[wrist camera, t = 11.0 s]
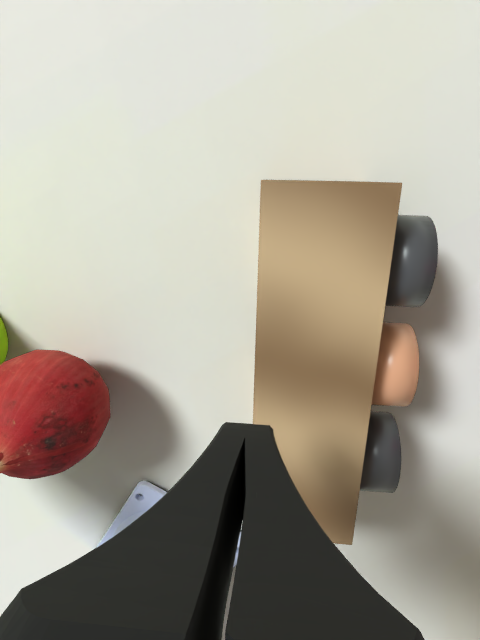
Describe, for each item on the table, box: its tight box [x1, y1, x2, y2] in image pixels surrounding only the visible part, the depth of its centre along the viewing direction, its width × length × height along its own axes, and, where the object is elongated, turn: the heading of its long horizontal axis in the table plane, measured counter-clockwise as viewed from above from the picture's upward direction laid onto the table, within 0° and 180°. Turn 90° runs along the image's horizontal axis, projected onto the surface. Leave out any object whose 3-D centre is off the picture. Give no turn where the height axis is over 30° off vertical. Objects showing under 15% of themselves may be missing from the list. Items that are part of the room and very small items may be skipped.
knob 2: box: [385, 215, 438, 307], centre depth 17 cm, size 4×6×4 cm, turn 89°
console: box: [253, 180, 402, 545], centre depth 18 cm, size 15×4×6 cm, turn 179°
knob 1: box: [360, 411, 401, 493], centre depth 20 cm, size 4×6×4 cm, turn 89°
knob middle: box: [371, 322, 419, 407], centre depth 18 cm, size 4×6×4 cm, turn 89°
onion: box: [0, 350, 110, 479], centre depth 19 cm, size 6×6×8 cm
